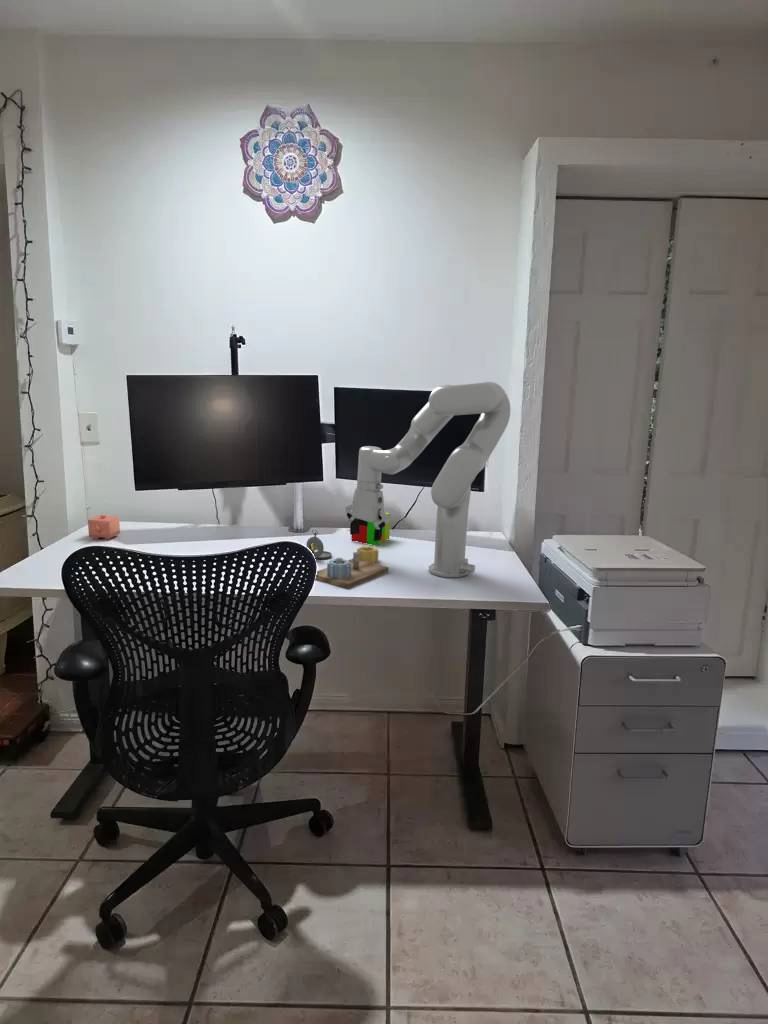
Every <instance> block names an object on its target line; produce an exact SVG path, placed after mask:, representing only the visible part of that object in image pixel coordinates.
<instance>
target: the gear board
mask: <svg viewBox="0 0 768 1024" xmlns="http://www.w3.org/2000/svg"><path fill="white" fill-rule="evenodd" d="M352 555H353V556H352V558H350V559H348V561H349V563H351V575H349V577H348V578H346V577H345V578H342V579H338V578H331V577H330V576H327V567H325V568H322V569H320V570H318V571H316V572H317V575H316V579H315V580H317V581H319V582H323V583H326V584H330V585H333V586H336V587H340V588H343V589H346V590H348V589H351V588H353V587H355V586H359V585H361V584H363V583H366V582H368V581H371V580H373V579H375V578H378V577H381V576H382V575H385V574H387V573H389V569H390V567H388V566H384V565H380V564H376V563H374V564H373V563H369V562H365V561H361V560H359V552H357V551H354V552H353V553H352ZM335 559H336V564H342V559H343V558H342V557H336V558H335Z"/></svg>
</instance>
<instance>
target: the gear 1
mask: <svg viewBox="0 0 768 1024" xmlns="http://www.w3.org/2000/svg"><path fill="white" fill-rule="evenodd" d="M348 560H349V559H348ZM348 560H347V559H343V558H342V564H336V558H333V559H331V560H329V561H328V562H327V564H326V565H327V567H326V568H327V576H330V577H331V578H338V579H342V578H345V577H346V578H348V577H349V575H351V563H349V561H348Z"/></svg>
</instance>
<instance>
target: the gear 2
mask: <svg viewBox="0 0 768 1024" xmlns="http://www.w3.org/2000/svg"><path fill="white" fill-rule="evenodd" d="M356 552H359V560H361V561H365V562H369V563H374V564H375V563H378V562H379V548H377V547H376V546H372V545H369V546H365V545H364V546H360V547H358V548H357V549H356Z"/></svg>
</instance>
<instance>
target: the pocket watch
mask: <svg viewBox="0 0 768 1024" xmlns="http://www.w3.org/2000/svg"><path fill="white" fill-rule="evenodd" d="M313 531H314V532H313ZM311 533H312V534H313V536H311V537H309V538H308V539H307V541H306V545H305V546H306V548H307V547H308V548H309V549H310V550H311V551H312V553H313V554H314V556H315V557H316V558H315V559H318V560H319V559H320V560H324V559H330V558H331V557H332V555H333V554H332V552H330V551H326V550H324V549H325V547H324V543H323V542H322V540H321V539H320V537H317V535H319V532H318V530H315V529H312V530H311Z"/></svg>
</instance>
